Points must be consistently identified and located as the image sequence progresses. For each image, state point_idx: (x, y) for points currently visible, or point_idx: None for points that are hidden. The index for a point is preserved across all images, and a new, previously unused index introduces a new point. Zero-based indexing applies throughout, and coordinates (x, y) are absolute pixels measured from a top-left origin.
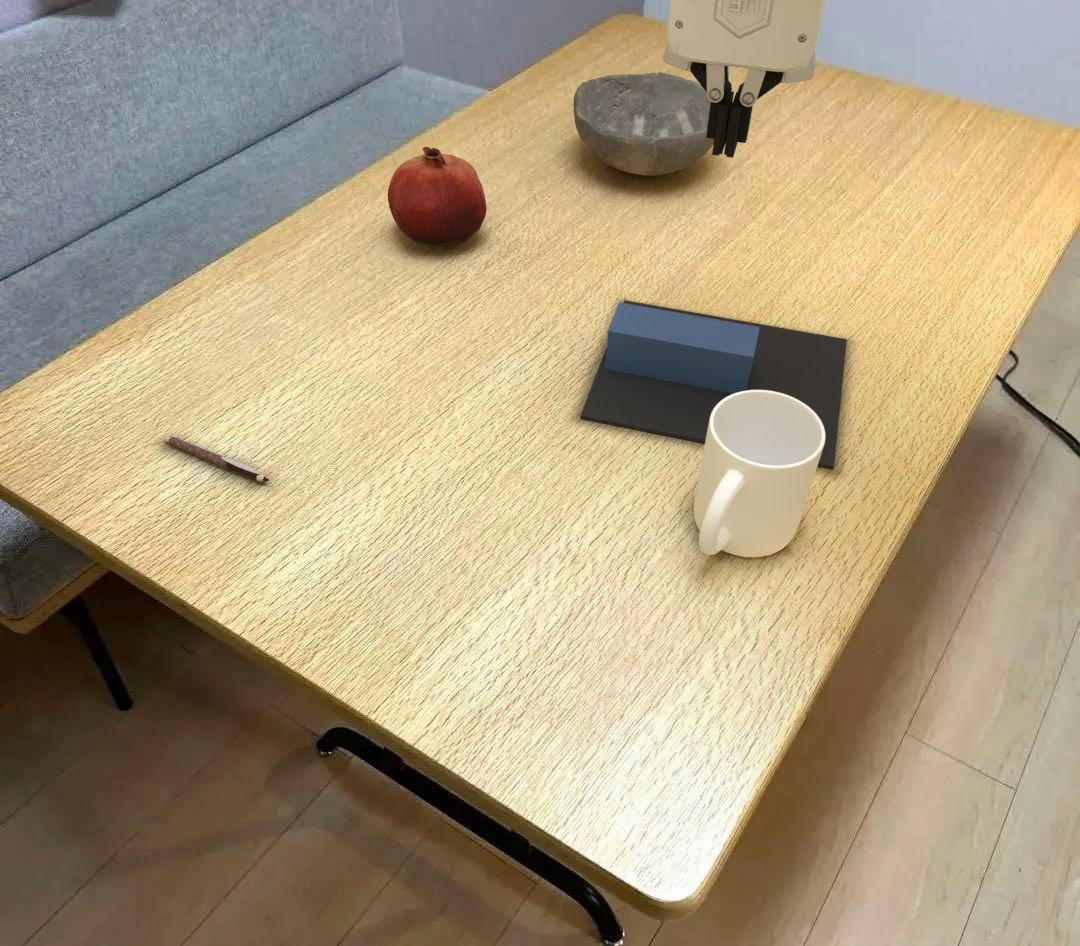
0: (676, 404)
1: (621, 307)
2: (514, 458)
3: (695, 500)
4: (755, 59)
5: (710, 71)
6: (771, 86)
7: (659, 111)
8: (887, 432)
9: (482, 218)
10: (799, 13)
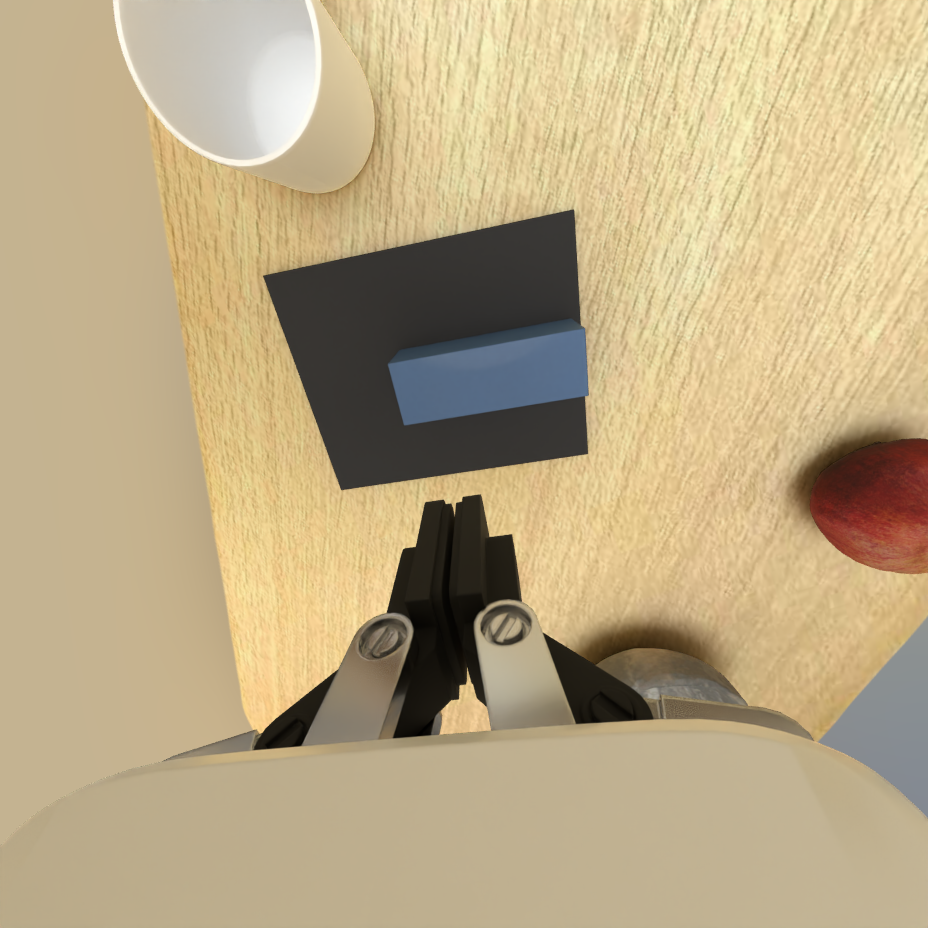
0: (466, 295)
1: (582, 386)
2: (636, 70)
3: (359, 65)
4: (266, 806)
5: (548, 703)
6: (304, 703)
7: None
8: (245, 368)
9: (818, 500)
10: None
